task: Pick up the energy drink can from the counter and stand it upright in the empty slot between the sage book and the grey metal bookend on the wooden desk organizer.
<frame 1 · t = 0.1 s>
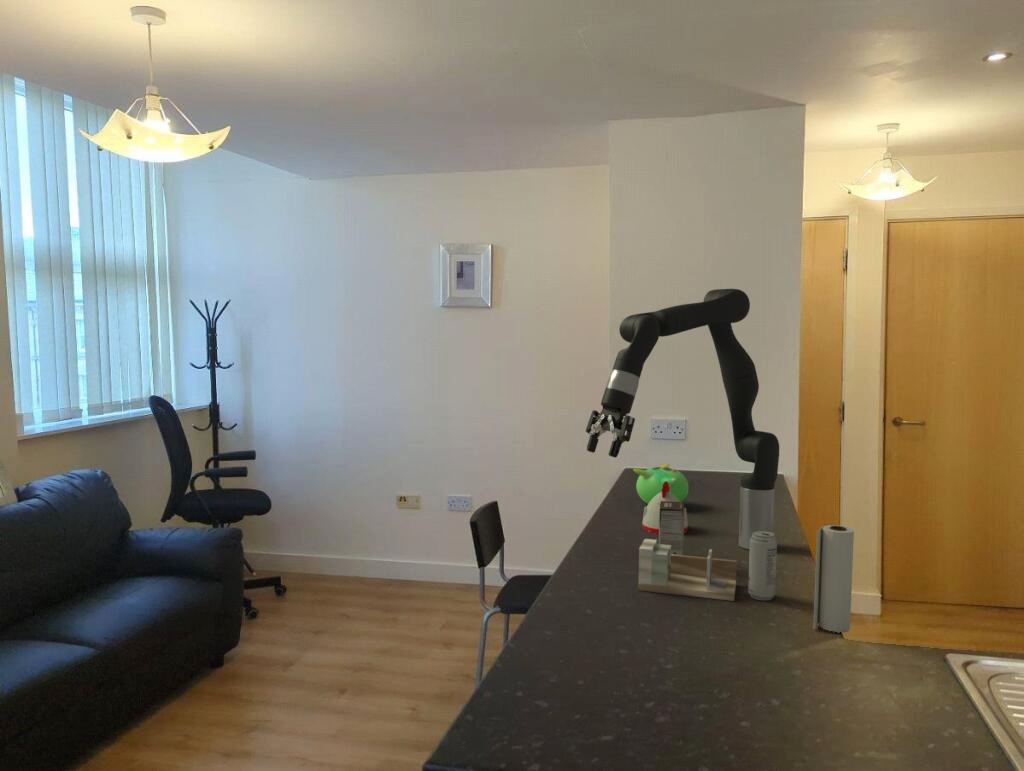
hand: (601, 454, 191), 31 cm above the countertop, tool tilted 20°, fingers open, 8 cm apart
energy drink can: (761, 597, 182), on the countertop
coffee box: (670, 565, 206), on the countertop
wooden desk organizer: (687, 587, 188), on the countertop
paper towel roll: (831, 628, 163), on the countertop
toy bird: (661, 507, 272), on the countertop
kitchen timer: (664, 530, 242), on the countertop
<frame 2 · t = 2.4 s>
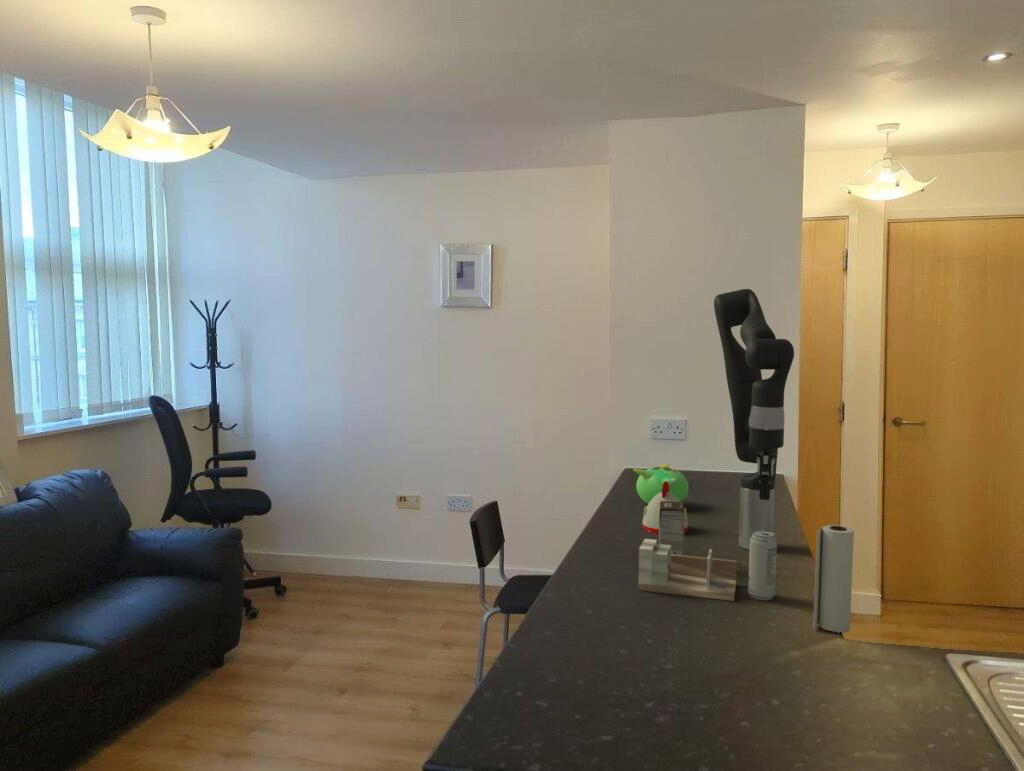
hand: (764, 495, 180), 24 cm above the countertop, tool pointing down, fingers open, 8 cm apart
nothing on the countertop moved.
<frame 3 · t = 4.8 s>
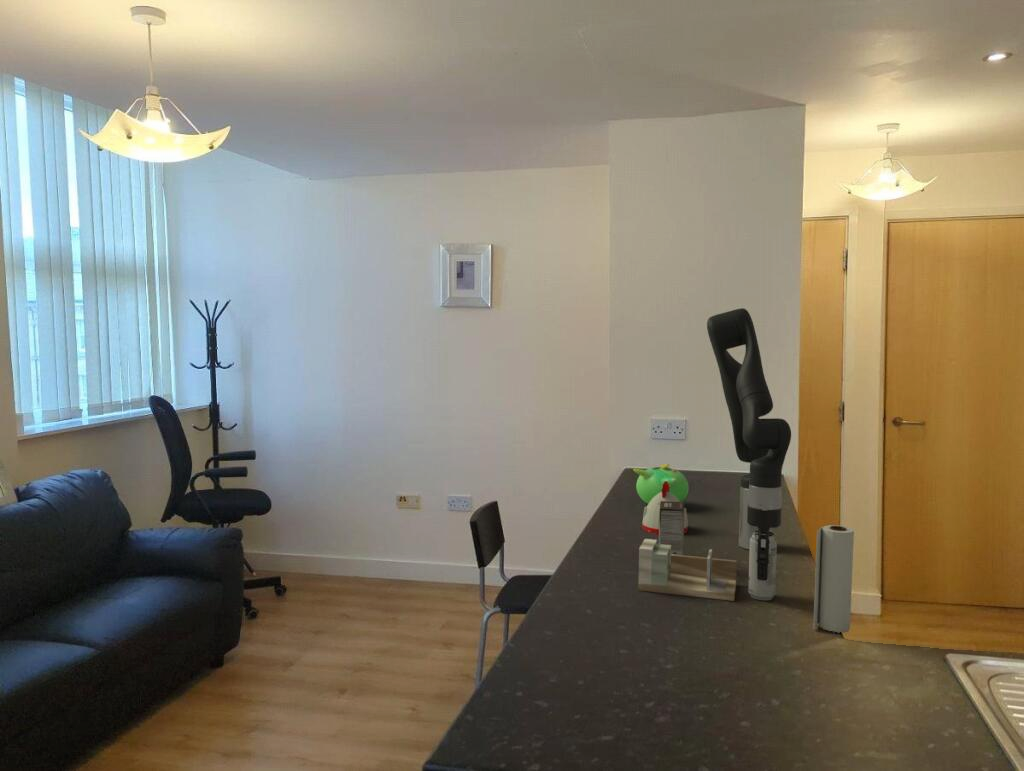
hand: (762, 575, 182), 5 cm above the countertop, tool pointing down, fingers closed on energy drink can, 6 cm apart
energy drink can: (761, 597, 182), on the countertop, touching gripper
everything else where it was.
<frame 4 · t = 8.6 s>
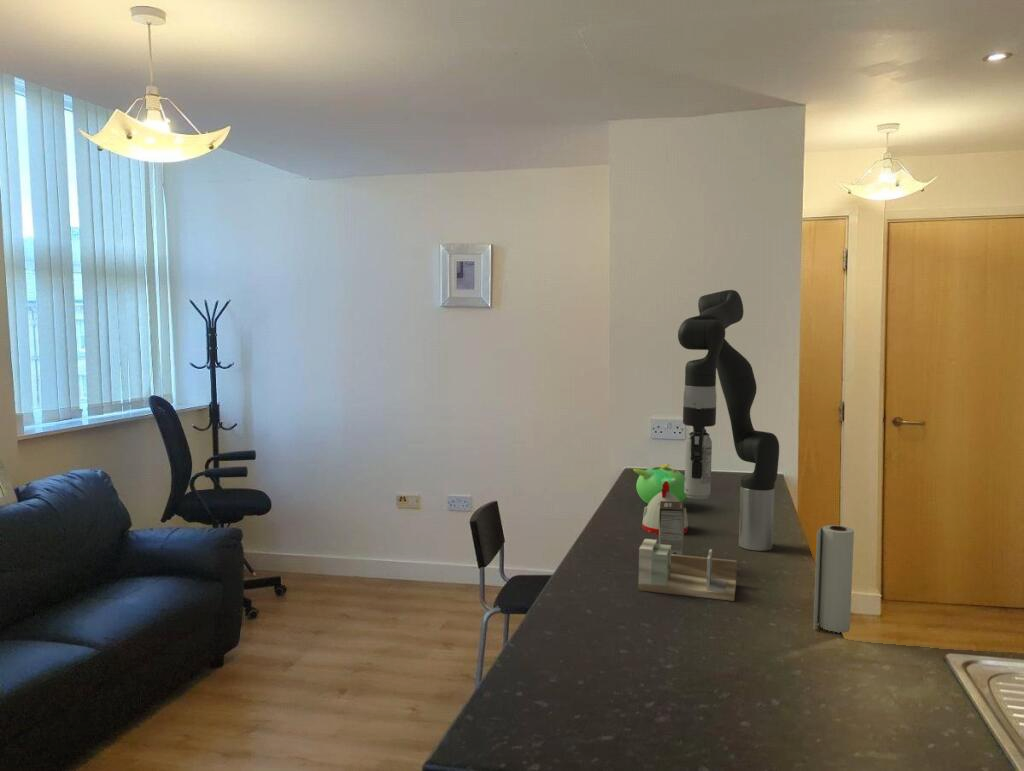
hand: (697, 475, 184), 28 cm above the countertop, tool pointing down, fingers closed on energy drink can, 6 cm apart
energy drink can: (697, 497, 185), point 22 cm above the countertop, touching gripper
everything else where it was.
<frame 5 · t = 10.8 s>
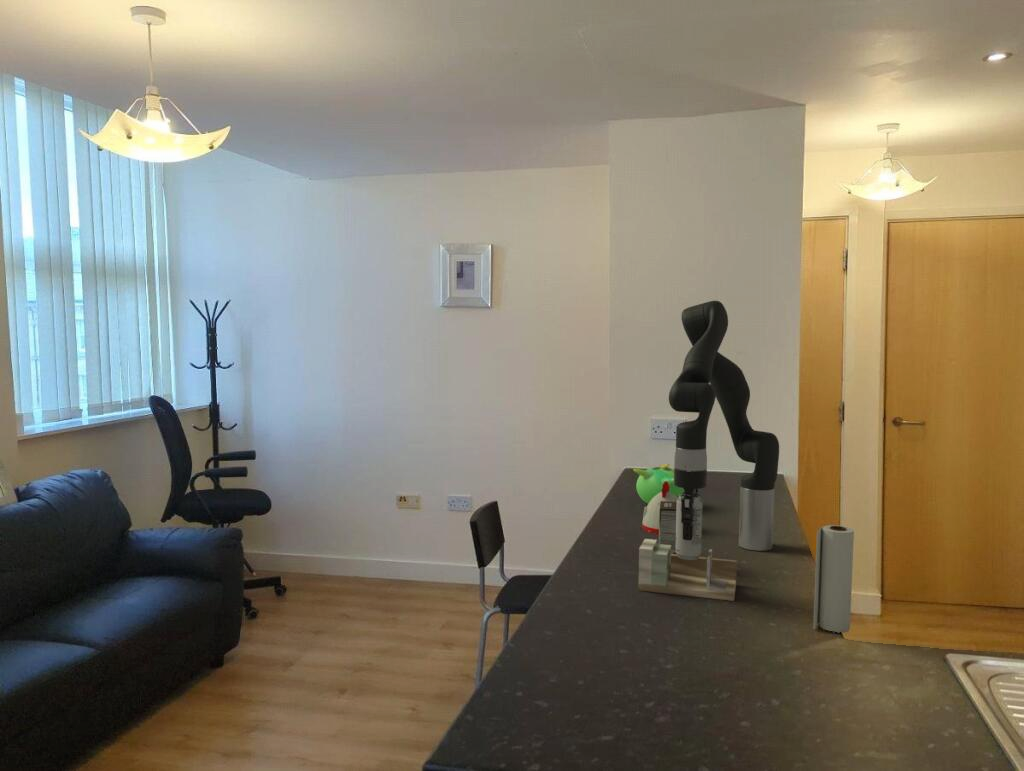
hand: (688, 535, 186), 13 cm above the countertop, tool pointing down, fingers closed on energy drink can, 6 cm apart
energy drink can: (688, 557, 187), point 8 cm above the countertop, touching gripper
everything else where it was.
when the fingers open (8 cm above the countertop, at t = 12.7 s): energy drink can drops 1 cm, resting on wooden desk organizer.
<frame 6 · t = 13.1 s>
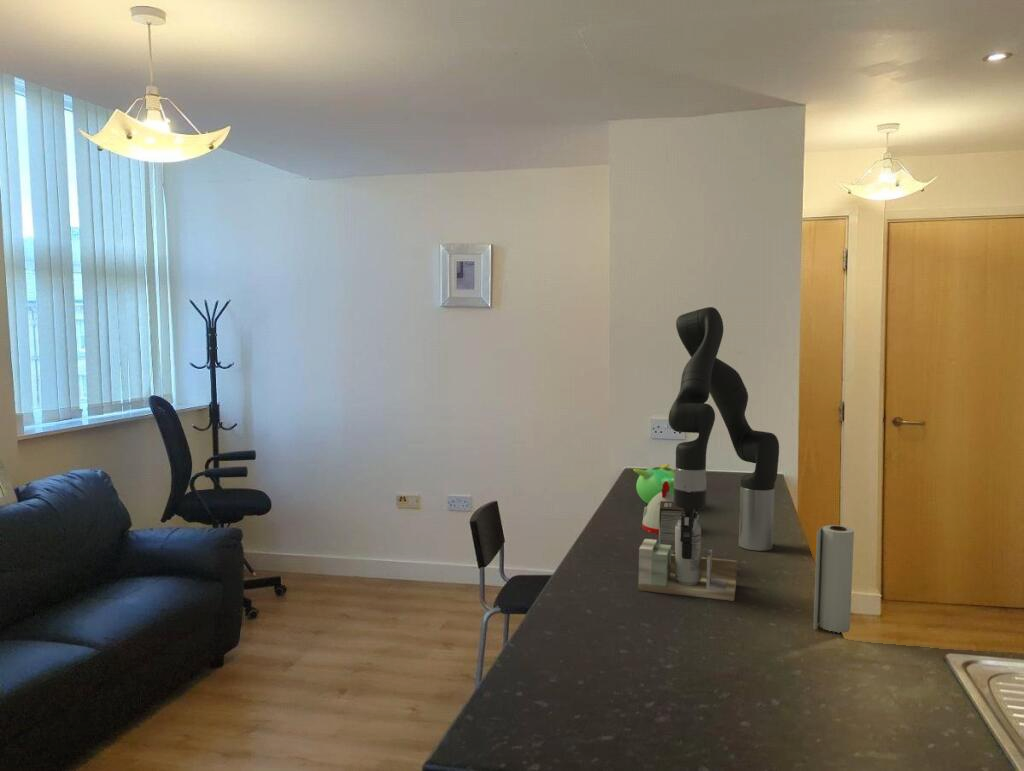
hand: (688, 553, 187), 9 cm above the countertop, tool pointing down, fingers open, 8 cm apart
energy drink can: (687, 583, 187), point 1 cm above the countertop, touching wooden desk organizer
everything else where it was.
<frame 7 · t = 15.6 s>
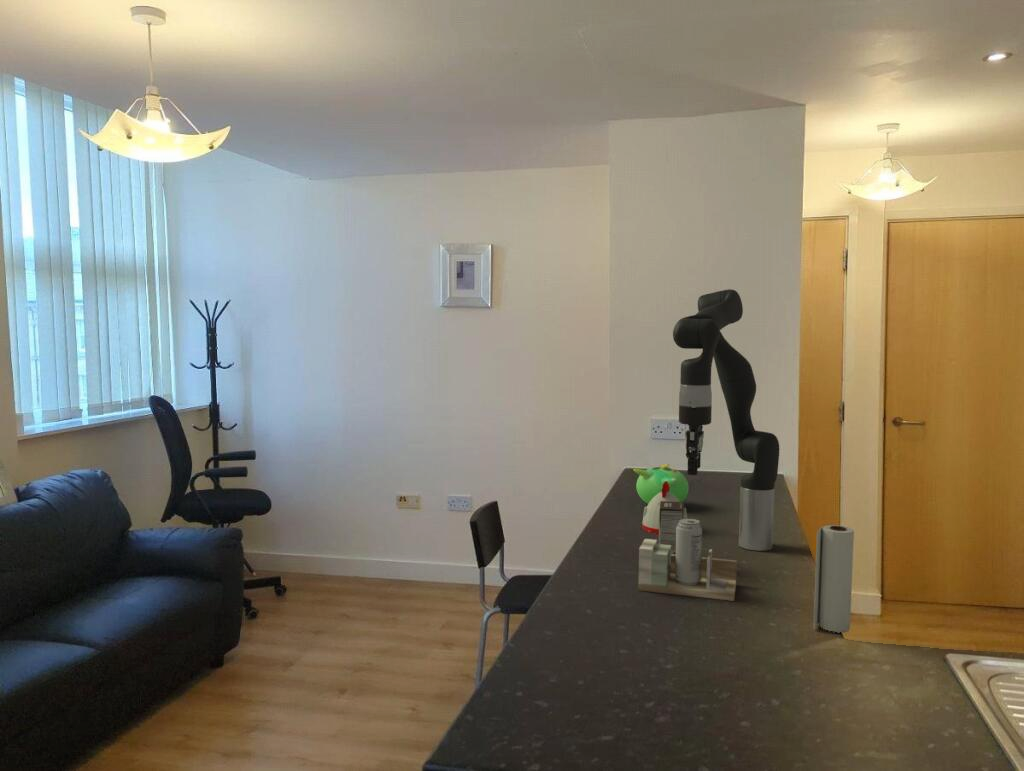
hand: (694, 471, 186), 28 cm above the countertop, tool pointing down, fingers open, 8 cm apart
nothing on the countertop moved.
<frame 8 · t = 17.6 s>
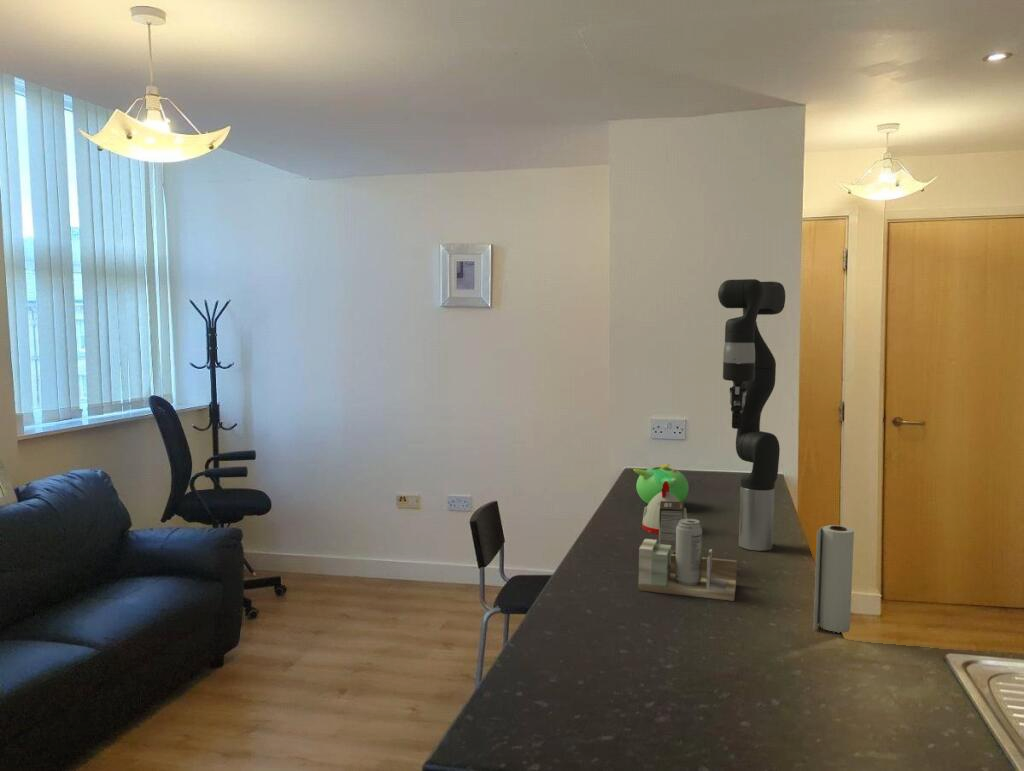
hand: (737, 426, 194), 38 cm above the countertop, tool pointing down, fingers open, 8 cm apart
nothing on the countertop moved.
at the end: energy drink can inside the target area on the wooden desk organizer (0.1 cm from its centre), point 1.3 cm above the wooden desk organizer's base; energy drink can tilted 0°; the gripper is holding nothing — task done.
